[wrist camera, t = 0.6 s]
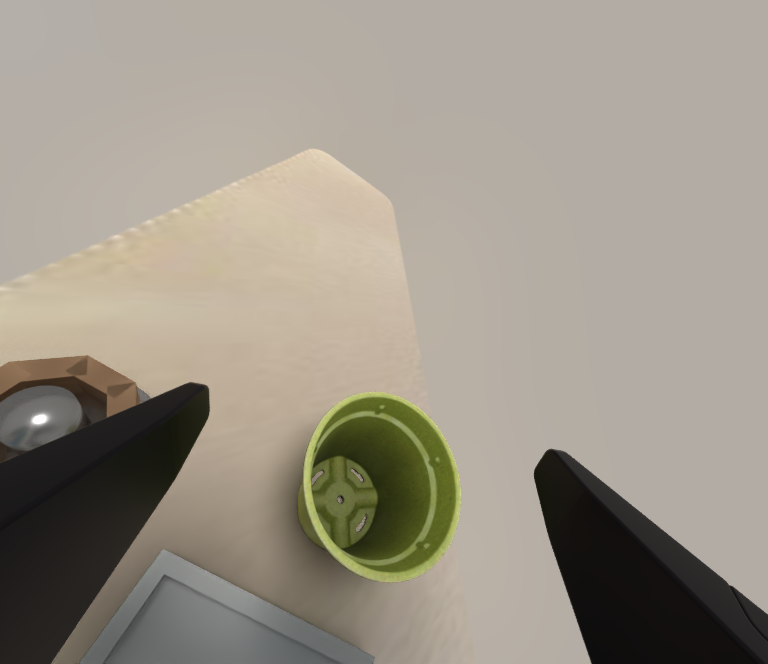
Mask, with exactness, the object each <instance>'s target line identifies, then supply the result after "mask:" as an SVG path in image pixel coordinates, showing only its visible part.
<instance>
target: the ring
mask: <svg viewBox="0 0 768 664" xmlns="http://www.w3.org/2000/svg"><path fill="white" fill-rule="evenodd" d="M36 386H57V387H62V388H64V389H67V390H69V391H70V392H71V393H73V394H74V396H75V397H76V398H77V400H78V402H79V403H80V405H81V406H82V407H84V406H93V407H95V408H96V409H98V410H100V411H102V412H104V413H106V414H107V417H109V416H111V415H114V414H116V413H118V412H121V411H123V410H125V409H128V408H130V407H132V406H135V405H137V404H139V403H141V400H140V397H139V393H138V389H137V386H136V382H134V381H132V380H130V379H128V378H127V377H125V376H123V375H121V374H120V373H118V372H116V371H114V370H113V369H111V368H109V367H107V366H105V365H104V364H102V363H100V362H98V361H97V360H95V359H93V358H91V357H90V356H76V357H64V358H51V359H39V360H27V361H14V362H8V363H6V364H5V365H3V366H1V367H0V402H2V401H3V400H4V399H6V398H7V397H9V396H10V395H12V394H14V393H16V392H19V391H21V390H24V389H27V388H31V387H36ZM7 447H8V446H6V445H5V444H3V443H2V442H1V441H0V463H1V462H3V461H5V460H6V453H7Z"/></svg>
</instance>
